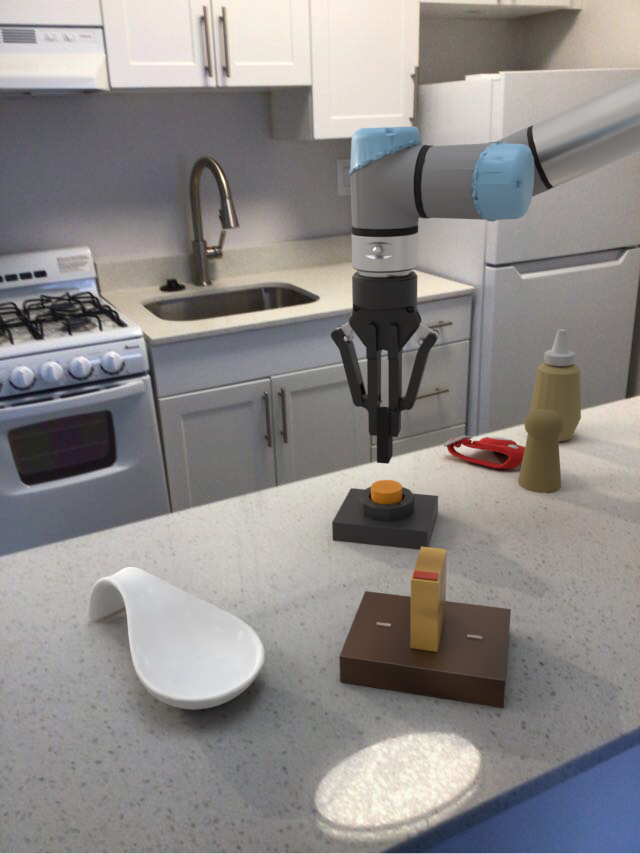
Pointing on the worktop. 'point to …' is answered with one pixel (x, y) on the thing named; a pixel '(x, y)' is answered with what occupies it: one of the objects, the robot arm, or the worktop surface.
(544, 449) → the tan pawn
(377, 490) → the alarm button
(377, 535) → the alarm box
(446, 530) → the worktop surface
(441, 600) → the thumbturn
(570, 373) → the squeeze bottle
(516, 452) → the red looped piece
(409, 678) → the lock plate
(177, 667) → the spoon rest
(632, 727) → the worktop surface
